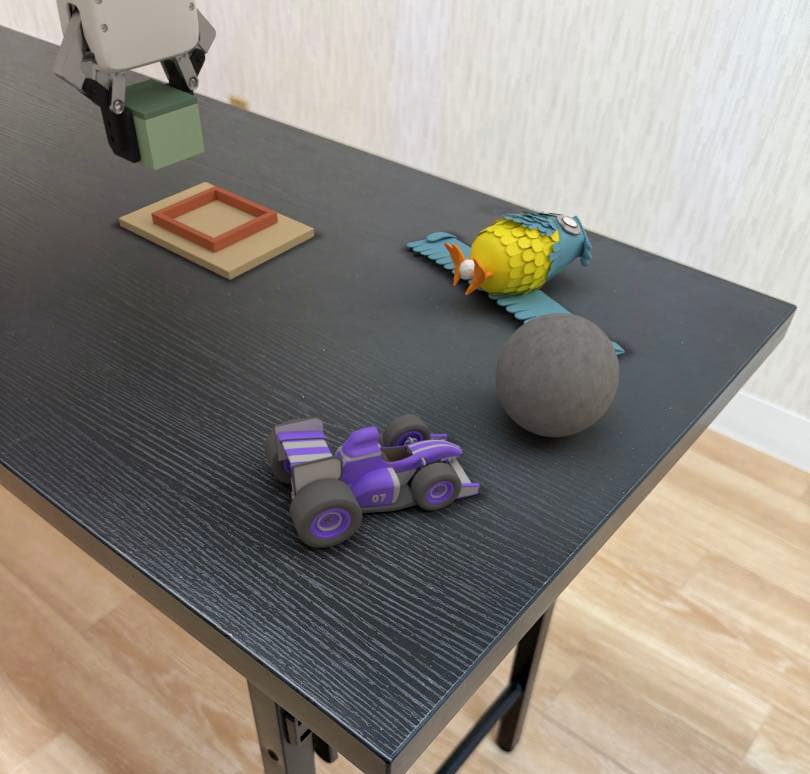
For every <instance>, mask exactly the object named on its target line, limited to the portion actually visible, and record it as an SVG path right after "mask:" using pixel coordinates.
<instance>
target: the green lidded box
mask: <svg viewBox="0 0 810 774" xmlns="http://www.w3.org/2000/svg"><path fill="white" fill-rule="evenodd" d="M165 84H166V83H163V82H160V81H158V80H155V79H153V78H149V79H146V80H143V81H139V82H137V83H132V84H130V85H126V94H125V110H128V111H130V112H131V114H132V115H133V120H134V125H135V130H136V135H137V140H138V145H139V150H140V155H141V159H140V161H139V162H137V164H139V165H140V166H143V167H146V168H148V169H149V170H152V171H158V170H159V169H160V170H161V169H163V168H166V167H168V166H171V165H173V164H176V163H180V162H182V161H184V160H187V159H189V158H193V157H195V156H198V155H200V154H203V153H205V145H204V137H203V131H202V123H201V117H200V109H199V101H198V96H196V95H195V94H194V95H191V94H188V93H186V92H183V91H181V90H178V89H176V88H173V87H171V86H168V85H165ZM109 150H110V151H111V152H113V151H112V149H111V147H110V146H109Z"/></svg>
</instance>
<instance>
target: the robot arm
mask: <svg viewBox="0 0 810 774" xmlns="http://www.w3.org/2000/svg"><path fill="white" fill-rule="evenodd" d="M55 2H56V7H57V12H58V18H59V23H60V26H61V32H62V41H61V43H60V46H59V49H58V50H57V53H56V56H55V59H54V62H53V64H52V72H53V74H54V75H55V76H56V78H59V79H60V80H61V81H63V82H65V83H66V84H68V85H69V86H71V87H73V88H74V89H75V90H77V91H78V92H80V94H82V95H83V96H84V97H86V98H88V100H90V101H91V102H92V104H93V105H95V106H97V107H99V108H100V112H101V118H102V121H103V126H104V130H105V135H106V139H107V143H108V146H109V148H110V147H111V149H112V151H111V152H113V154H114V155H115V156H117V157H119V158H122V159H123V160H126V161H128V162H130V163H131V164H136V163H137V162H139V161H140V159H141V155H140V150H139V145H138V140H137V135H136V130H135V125H134V120H133V115H132V114H131V112H130V111H128V110H125V94H126V86H127V77H128V75H127V74H128V71H131V70H135V69H139V68H142V67H146V66H150V65H153V64H158V63H159V64H160V66H161V67H162V70H163V72H164V74H165V77H166V78H167V80H168V82H167V83H164V84H165V85H168V86H171V87H173V88H176V89H178V90H181V91H183V92H186V93H188V94H191V95H194V96H195V93H194V91H196V90H197V89H198V88H199V84H200V83H199V82H200V81H199V78H198V77H199V74H200V73H201V70H202V69H203V66H204V65H205V62H206V54H208V53H209V50H210V49H211V47H212V45H213V43H214V41H215V39H216V37H217V31H216V29H215V27H214V26H213V25H212V24H211V22H209V20H208V19H207V18H206V17H205V16H204V14H203V13H202V12H201V10H199V8H198V7H197V2H196V0H55ZM88 62H92V63H91V76H89V75H88V74H87V73H85V72H84V71H83V69H82V63H88ZM137 164H138V163H137Z"/></svg>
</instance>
